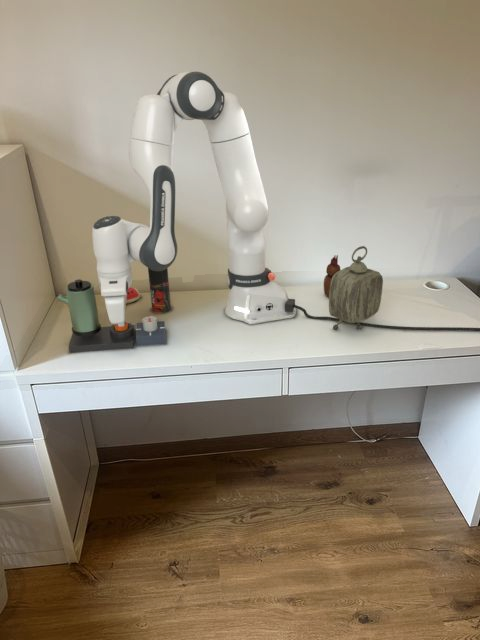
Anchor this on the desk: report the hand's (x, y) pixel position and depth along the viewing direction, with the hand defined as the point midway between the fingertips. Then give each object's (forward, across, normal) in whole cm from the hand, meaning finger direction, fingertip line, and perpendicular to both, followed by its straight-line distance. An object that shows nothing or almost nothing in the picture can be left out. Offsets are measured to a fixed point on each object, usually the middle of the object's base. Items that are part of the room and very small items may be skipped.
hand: (121, 324), depth 153 cm
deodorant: (+5, -20, +11) cm, 23 cm away
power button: (+2, 0, 0) cm, 2 cm away
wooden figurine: (+6, -21, +68) cm, 71 cm away
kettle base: (+5, 0, -6) cm, 8 cm away
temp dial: (+2, 0, +8) cm, 8 cm away
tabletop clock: (+6, +3, +68) cm, 68 cm away
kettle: (+1, -1, -11) cm, 11 cm away
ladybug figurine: (+5, -29, 0) cm, 29 cm away
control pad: (+5, 0, +8) cm, 9 cm away
